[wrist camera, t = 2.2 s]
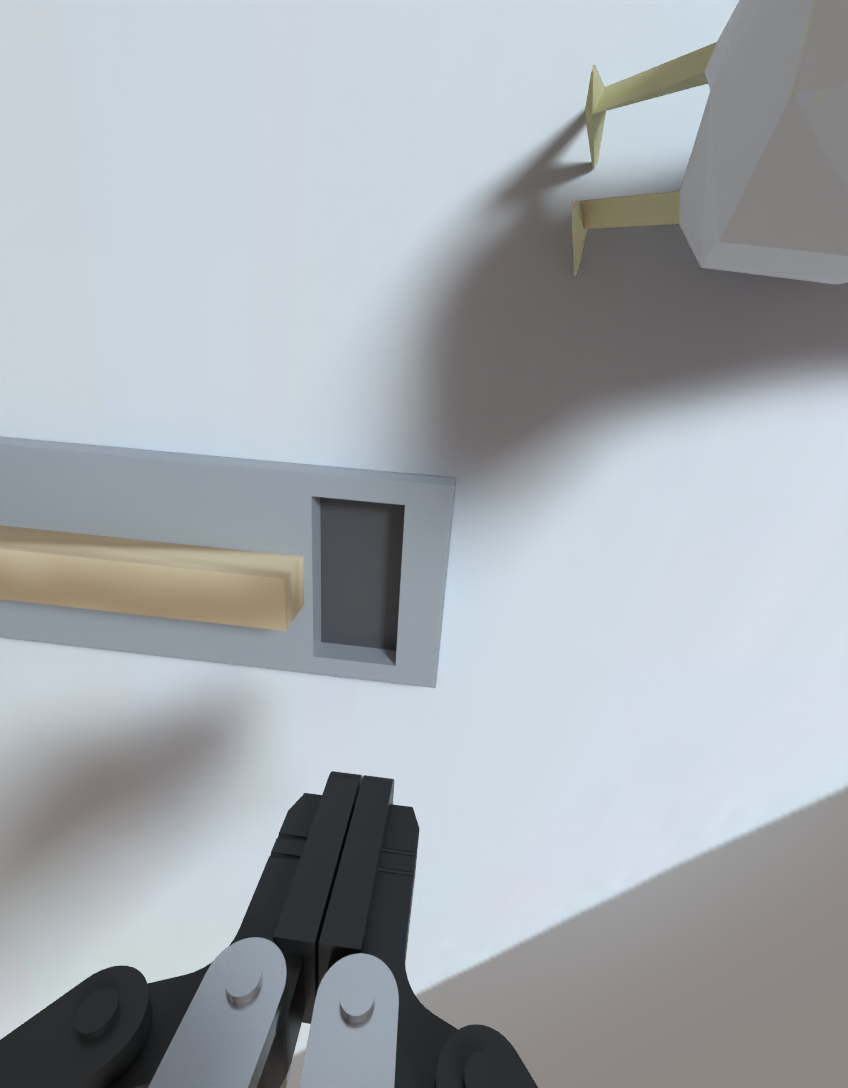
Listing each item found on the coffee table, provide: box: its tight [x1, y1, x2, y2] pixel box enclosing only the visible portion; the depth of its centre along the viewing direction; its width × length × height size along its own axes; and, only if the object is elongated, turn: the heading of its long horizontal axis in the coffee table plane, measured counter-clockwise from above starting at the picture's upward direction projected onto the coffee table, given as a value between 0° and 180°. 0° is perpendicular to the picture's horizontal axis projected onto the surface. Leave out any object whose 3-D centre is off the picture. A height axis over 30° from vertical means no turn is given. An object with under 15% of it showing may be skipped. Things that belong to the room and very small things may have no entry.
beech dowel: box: [0, 525, 304, 631], centre depth 22 cm, size 2×18×2 cm, turn 86°
